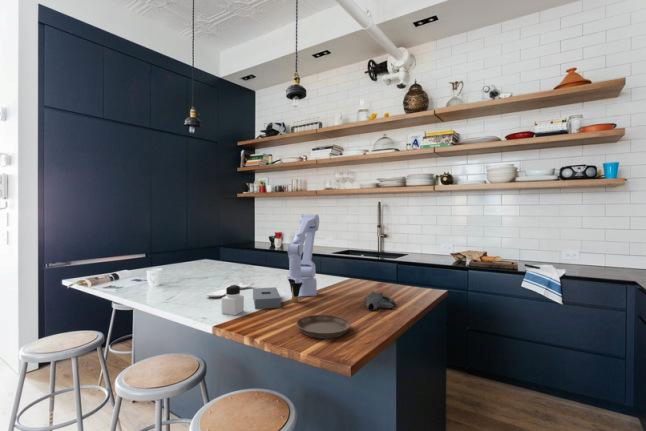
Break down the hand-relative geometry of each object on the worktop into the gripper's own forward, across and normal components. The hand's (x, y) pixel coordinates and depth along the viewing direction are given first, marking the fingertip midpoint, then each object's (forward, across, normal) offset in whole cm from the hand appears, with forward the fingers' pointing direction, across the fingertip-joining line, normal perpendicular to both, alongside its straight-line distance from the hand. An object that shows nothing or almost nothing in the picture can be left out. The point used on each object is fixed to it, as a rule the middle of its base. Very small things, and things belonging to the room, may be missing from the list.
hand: (294, 294), depth 170 cm
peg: (+4, 0, 0) cm, 4 cm away
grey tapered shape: (+4, +14, +40) cm, 43 cm away
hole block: (+4, -3, -14) cm, 15 cm away
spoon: (+4, -27, -32) cm, 42 cm away
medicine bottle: (+4, +11, -30) cm, 32 cm away
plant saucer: (+4, +42, +4) cm, 42 cm away
